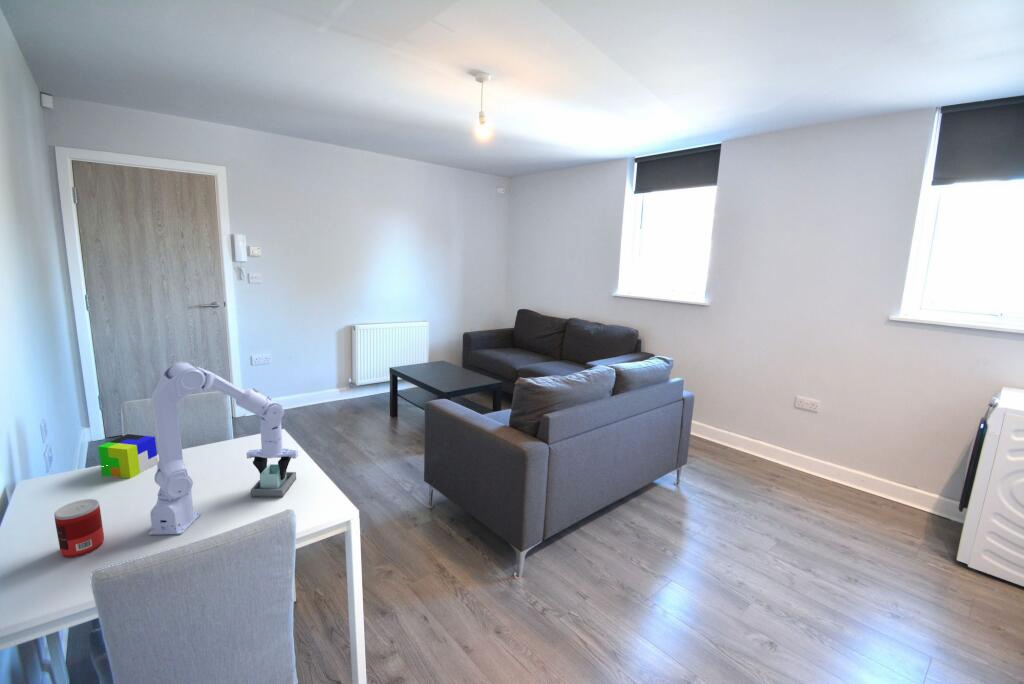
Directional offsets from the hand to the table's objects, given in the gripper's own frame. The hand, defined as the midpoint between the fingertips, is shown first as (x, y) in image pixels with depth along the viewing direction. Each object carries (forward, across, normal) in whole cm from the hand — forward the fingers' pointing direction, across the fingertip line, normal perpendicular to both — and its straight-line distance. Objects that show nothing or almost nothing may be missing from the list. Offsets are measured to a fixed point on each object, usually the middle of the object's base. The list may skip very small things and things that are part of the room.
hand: (274, 478), depth 141 cm
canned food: (+3, +34, +28) cm, 44 cm away
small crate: (+2, 0, 0) cm, 2 cm away
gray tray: (+3, 0, 0) cm, 3 cm away
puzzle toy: (+3, +50, -12) cm, 52 cm away
